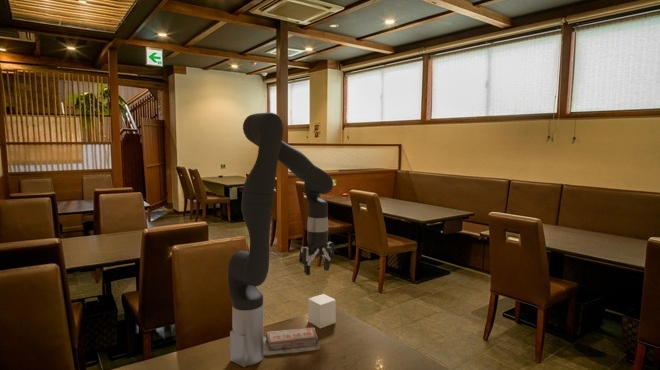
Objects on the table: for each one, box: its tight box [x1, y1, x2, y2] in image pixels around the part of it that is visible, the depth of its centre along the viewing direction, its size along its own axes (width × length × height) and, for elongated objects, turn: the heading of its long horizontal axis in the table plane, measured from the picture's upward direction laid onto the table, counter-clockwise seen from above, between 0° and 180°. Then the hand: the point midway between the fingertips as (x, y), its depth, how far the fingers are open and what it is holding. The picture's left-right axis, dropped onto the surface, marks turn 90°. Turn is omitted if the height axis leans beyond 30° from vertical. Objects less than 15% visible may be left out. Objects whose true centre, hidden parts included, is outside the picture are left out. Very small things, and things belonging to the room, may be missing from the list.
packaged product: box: [263, 327, 321, 357], centre depth 129 cm, size 18×5×10 cm
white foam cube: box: [307, 293, 337, 329], centre depth 145 cm, size 7×7×9 cm
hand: (317, 272), depth 143 cm, fingers open, 8 cm apart
